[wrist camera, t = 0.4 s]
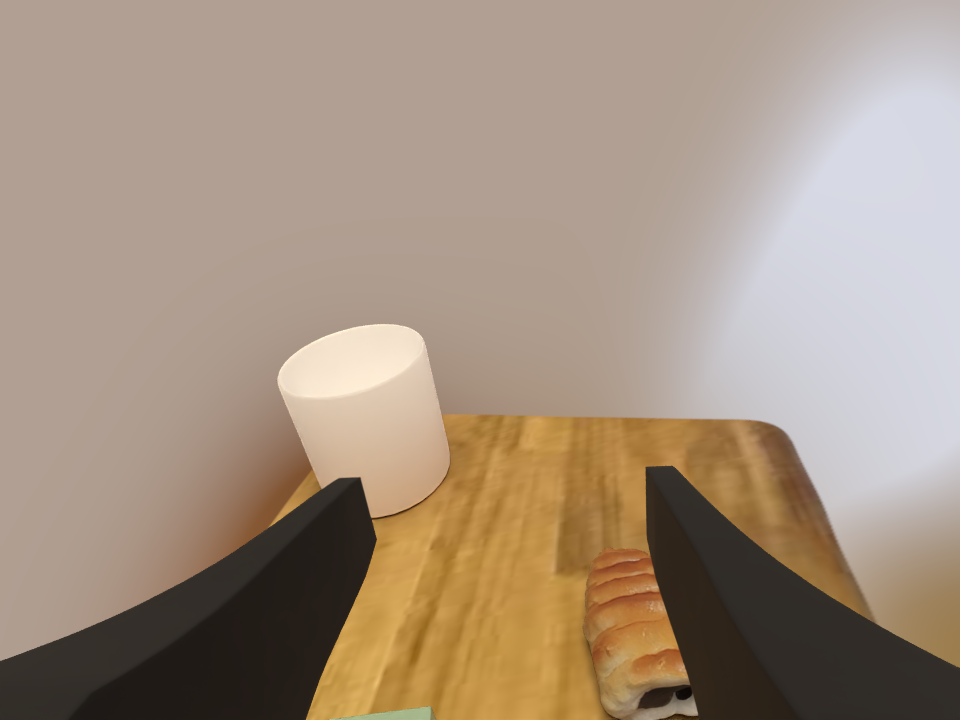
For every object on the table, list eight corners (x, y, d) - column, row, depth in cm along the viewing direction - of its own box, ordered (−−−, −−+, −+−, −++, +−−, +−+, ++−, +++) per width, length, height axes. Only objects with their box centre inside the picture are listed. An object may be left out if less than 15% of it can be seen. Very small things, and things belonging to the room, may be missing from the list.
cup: (418, 414, 50) (391, 311, 45) (474, 473, 41) (450, 354, 36) (309, 465, 46) (263, 357, 40) (346, 544, 37) (294, 419, 31)
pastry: (566, 571, 32) (562, 532, 30) (666, 556, 32) (669, 516, 30) (607, 736, 24) (605, 696, 22) (742, 717, 24) (753, 675, 22)
